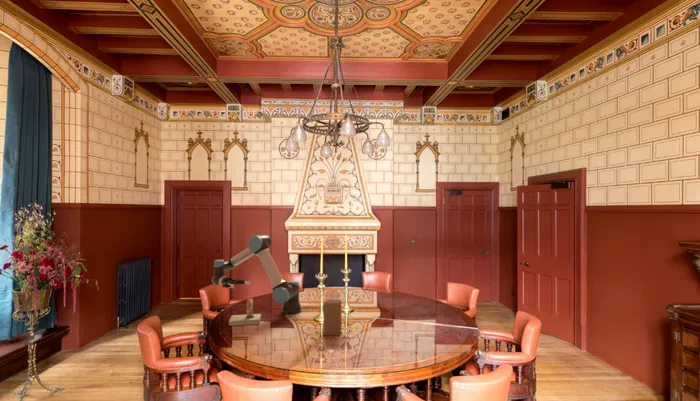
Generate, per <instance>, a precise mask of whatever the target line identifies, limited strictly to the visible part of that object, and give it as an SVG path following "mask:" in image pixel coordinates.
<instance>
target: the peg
mask: <svg viewBox="0 0 700 401" xmlns="http://www.w3.org/2000/svg"><path fill="white" fill-rule="evenodd" d="M253 309H254V299H252V298H248V299H246V315H247V318H252V317H253V314H254V310H253Z"/></svg>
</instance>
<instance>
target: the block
mask: <svg viewBox="0 0 700 401" xmlns="http://www.w3.org/2000/svg"><path fill="white" fill-rule="evenodd" d="M341 332H342V300H341V299H328V298H327V299H326V300H325V301H324V303H323V336H337V337H338V336H340V334H341Z"/></svg>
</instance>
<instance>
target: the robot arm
mask: <svg viewBox="0 0 700 401" xmlns="http://www.w3.org/2000/svg"><path fill="white" fill-rule="evenodd" d="M271 246H272V238H271V236H269V235H267V234H255V235H252V236H251V237H250V238H249V239H248V242H247V247H246V248H245V249H244V250H242V251H241V252H239V253H237V254H236V255H234V256H232V257H230V259H228V260H224V259H216V260H214V263H213V270H214V271H213V276H212V277H211V283H212V284H213V285H216V286H220V287H222V288H223V289H228V288H230V289H235V286H237V285H247V286H251V285H252V284H251V283H252V282H251V280H248V279H238V278H237V279H233V278H232V277H231V276H226V275H225V272H227V271H230V270H233V269H235V268H236V267H237V266H238V265H240V264H242V263H243V262H245V261H247V260H248V259H251V257H254V256H256V257H258V259H259V261H260V263H261V265H262V267H263V268H264V271H265V273H266V275H267V277H268V279H269V281H270V283H271V285H272V287H271V290H272V298H273V300H274V302H276V303H278V304H282V306H281V314H286V315H296V314H299V313H301V312H302V306H301V303H300V283H299V281H297V280H296V281H295V280H284V278H283V276H282V274H281V273H280V271H279V268H278V266H277V264H276V263H275V260H274V258H273V256H272V254H271V252H270V249H271V248H270V247H271Z"/></svg>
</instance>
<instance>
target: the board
mask: <svg viewBox="0 0 700 401" xmlns="http://www.w3.org/2000/svg"><path fill="white" fill-rule="evenodd" d="M261 318H262V313H253V317H252V318H247V314H233V315H231V316H230V317H229V320H228V326H229V327H230V326H231V327H232V326H244V325H245V326H246V325H247V326H248V325H259V324H261V323H260V322H261Z"/></svg>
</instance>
